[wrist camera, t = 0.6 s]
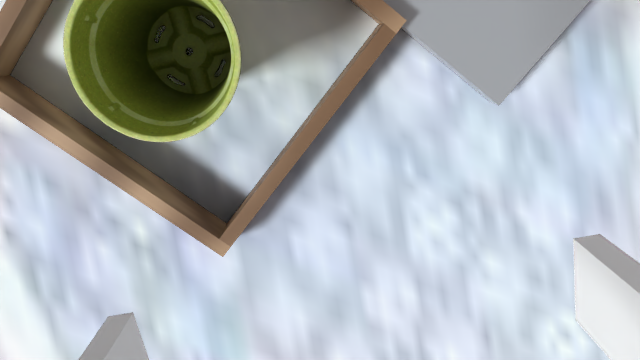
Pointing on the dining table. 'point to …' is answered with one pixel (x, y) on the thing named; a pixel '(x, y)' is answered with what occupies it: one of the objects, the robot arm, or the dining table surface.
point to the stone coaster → (487, 36)
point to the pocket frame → (74, 138)
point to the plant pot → (152, 64)
